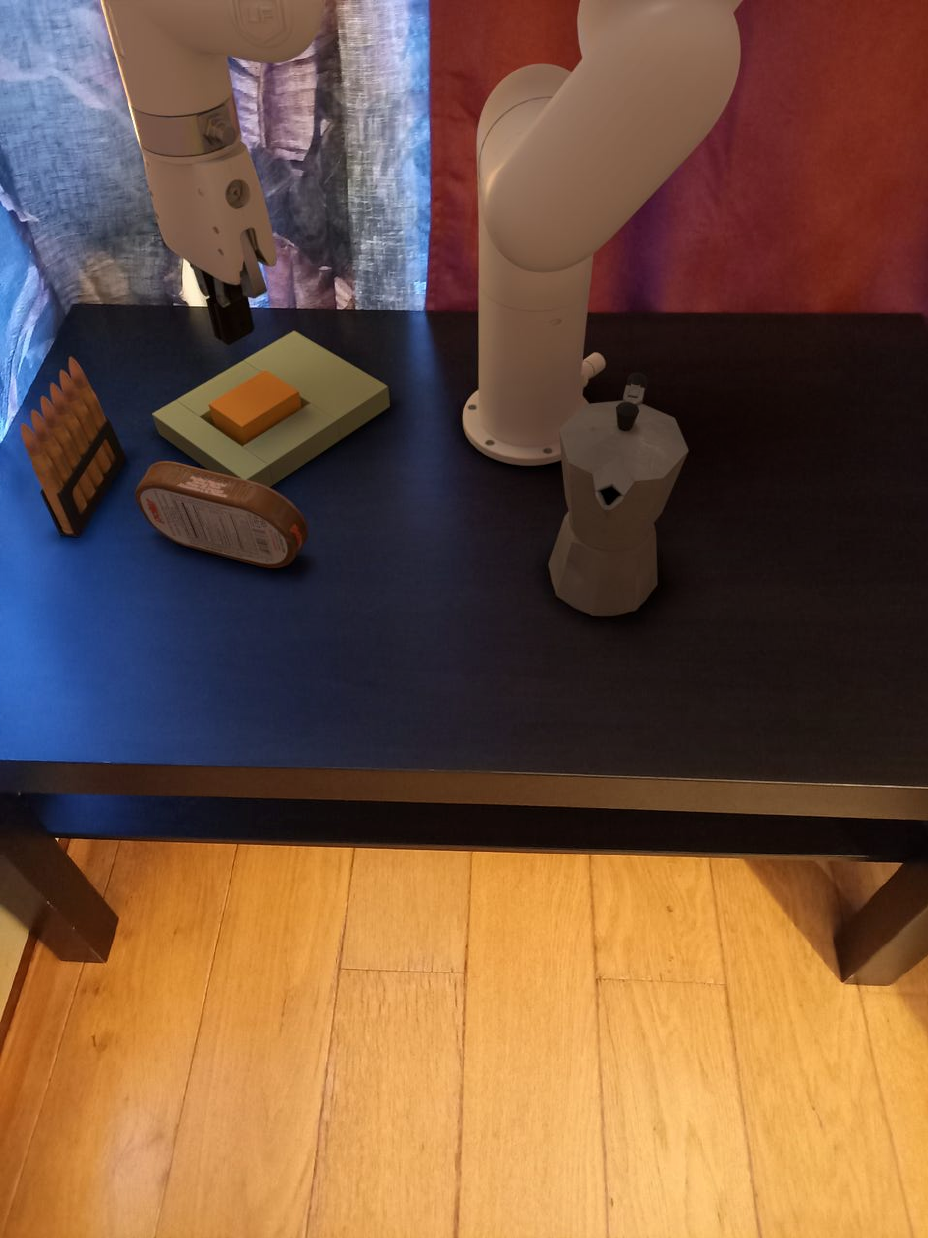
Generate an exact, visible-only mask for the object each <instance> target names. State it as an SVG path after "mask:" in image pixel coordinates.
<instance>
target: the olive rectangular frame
mask: <svg viewBox="0 0 928 1238" xmlns="http://www.w3.org/2000/svg"><path fill="white" fill-rule="evenodd" d="M265 370H266V371H268V372H269V373H271V374H272V375H274V376H276V377H277V378H279V379H280V380H282V381H284V382H285V383H287V384H288V385H290V386H291V387H293V388H295V389H296V390H298V391H299V394H300V400H301V405H302V409H300V410H299V411H297V412H296V413H294V414H293V415H291V416H289V417H288V418H286V419H285V420H283V421H282V422H280V423H278V424H277V425H275V426H274V427H272V428H271V429H269V430H267V431H266V432H264V433H263V434H261V435H260V436H258V437H256V438H255V439H253V440H252V441H250V442H249V443H247V444H245V445H244V446H243V447H242V446H240V445H239V444H238V443H236V442H235V441H233V440H232V439H230V438H229V437H228V436H226V435H225V434H223V433H222V432H220V431H219V430H218V429H216V428H215V426H214V422H213V419H212V415H211V412H210V408H209V403H211V402H213V401H214V400H216V399H218V398H219V397H221V396H223V395H224V394H226V393H228V392H229V391H231V390H233V389H234V388H236V387H238V386H239V385H241V384H243V383H244V382H246V381H248V380H249V379H251V378H253V377H254V376H256V375H258V374H259V373H261V372H263V371H265ZM390 402H391V401H390V393H389V386H388V385H386V383H384V382H382V381H380V380H379V379H377V378H375V377H373V376H372V375H369V373H366V372H365V371H363V370H362V369H360V368H358V367H356V366H354V365H353V364H351V363H350V362H348V361H346V360H345V359H343V358H341V357H340V356H338V355H336V354H335V353H334V352H331V351H329V350H328V349H326V348H325V347H323V346H321V345H319V344H318V343H316V342H315V341H312V340H311V339H309V338H307V337H306V336H305V335H302V334H301V333H299V332H297V331H296V330H293V331H291V332H289V333H287V334H286V335H284V336H283V337H280V338H279V339H277V340H275V341H274V342H272V343H271V344H268V345H267V346H266V347H264V348H262V349H260V350H259V351H257V352H255V353H253V354H252V355H250V356H248V357H246V358H245V359H243V360H242V361H240V362H238V363H237V364H235V365H233V366H231V367H230V368H228V369H226V370H224V371H223V372H221V373H219V374H217V375H216V376H214V377H213V378H211V379H209V380H207V381H206V382H204V383H202V384H201V385H199V386H197V387H195V388H193V389H192V390H190V391H188V392H187V393H185V394H183V395H181V396H180V397H178V398H177V399H174V400H173V401H171V402H170V403H168V404H166V405H164V406H162V407H161V408H160V409H158V410H156V411H154V412H152V413H151V415H152V418H153V421H154V424H155V427H156V429H157V432H158V435H160V436H161V437H163V438H164V439H165V440H167V441H168V442H169V443H170V444H172V445H173V446H175V447H176V448H177V449H179V451H182V452H183V453H184V454H186V455H187V456H188V457H189V458H191V459H192V460H194V461H195V462H197V463H198V464H199V465H201V466H202V467H204V468H205V470H208V471H212V472H216V473H220V474H224V475H228V476H232V477H236V478H240V479H244V480H249V481H252V482H256V483H259V484H262V485H264V486H267V487H269V488H271V487H272V486H274V485H275V484H277V483H278V482H281V480H283V479H284V478H286V477H287V476H289V475H291V474H292V473H294V472H295V471H297V470H298V469H299V468H302V466H305V464H307V463H309V462H310V461H311V460H313V459H315V458H316V457H317V456H319V455H320V454H322V453H323V452H325V451H326V450H328V449H329V448H330V447H332V446H334V445H335V444H336V443H338V442H339V441H341V440H342V439H344V438H346V437H347V436H348V435H350V434H351V433H352V432H354V431H356V430H357V429H359V428H361V427H362V426H363V425H365V424H366V423H368V422H369V421H371V420H372V419H374V418H375V417H376V416H378V415H379V414H381V413H382V412H384V411H385V410H387V409H389V408H390V407H391V404H390Z"/></svg>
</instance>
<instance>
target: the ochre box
mask: <svg viewBox="0 0 928 1238" xmlns="http://www.w3.org/2000/svg"><path fill="white" fill-rule="evenodd" d="M209 408H210V412H211V415H212V419H213V422H214V426H215V428H216V429H218V430H219V431H220V432H222V433H223V434H225V435H226V436H228V437H229V438H230V439H232V440H233V441H235V442H236V443H238V444H239V445H240V446H242V447H243V446H244V445H245V444H247V443H249V442H250V441H252V440H253V439H255V438H256V437H258V436H260V435H261V434H263V433H264V432H266V431H267V430H269V429H271V428H272V427H274V426H275V425H277V424H278V423H280V422H282V421H283V420H285V419H286V418H288V417H289V416H291V415H293V414H294V413H296V412H297V411H299V410H300V409H302V405H301V400H300V394H299V391H298V390H296V389H295V388H293V387H291V386H290V385H288V384H287V383H285V382H284V381H282V380H280V379H279V378H277V377H276V376H274V375H272V374H271V373H269V372H268V371H266V370H265V371H263V372H261V373H259V374H258V375H256V376H254V377H253V378H251V379H249V380H248V381H246V382H244V383H243V384H241V385H239V386H238V387H236V388H234V389H233V390H231V391H229V392H228V393H226V394H224V395H223V396H221V397H219V398H218V399H216V400H214V401H213V402H211V403H209Z"/></svg>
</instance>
